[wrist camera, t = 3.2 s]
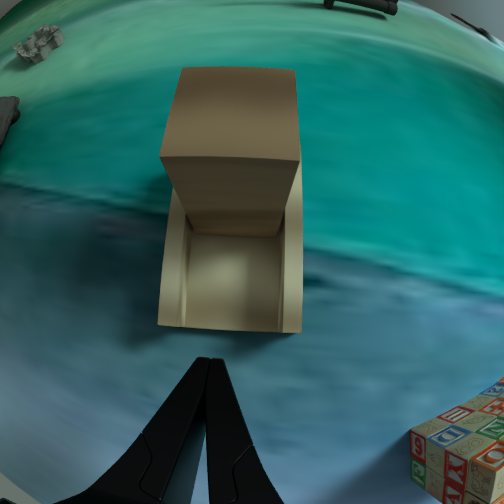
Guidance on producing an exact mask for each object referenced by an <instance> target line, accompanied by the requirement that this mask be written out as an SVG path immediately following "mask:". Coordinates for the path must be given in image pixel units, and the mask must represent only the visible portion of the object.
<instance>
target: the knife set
mask: <svg viewBox="0 0 504 504" xmlns="http://www.w3.org/2000/svg"><path fill="white" fill-rule="evenodd" d="M334 1H340V2H345V3H350V4H354V5H359V6H363V7H367V8H371V9H375V10H378V11H382V12H384V13H386V14H389V15H395V14H396V13H397V9H398V8H397V5H396V4H397V2H398V0H324V3H323V4H324V6H325V7H326V8H328V9H331V8H332V6H333V4H334Z"/></svg>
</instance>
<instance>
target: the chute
mask: <svg viewBox="0 0 504 504" xmlns="http://www.w3.org/2000/svg"><path fill="white" fill-rule="evenodd" d="M299 147H300V163H299V166H298V169H297V172H296V175H295V178H294V182H293V185H292V188H291V191H290V194H289V197H288V201H287V204H286V207H285V210H284V213H283V216H282V219H281V222H280V225H279V229H278V232H277V235H276V238H266V237H244V236H222V235H198V234H196V233H195V231H194V229H193V227H192V224H191V222H190V220H189V218H188V216H187V214H186V212H185V210H184V208H183V206H182V204H181V202H180V200H179V198H178V196H177V193H176V191H175V189H174V187H173V190H172V197H171V203H170V210H169V217H168V224H167V232H166V240H165V248H164V257H163V266H162V276H161V287H160V299H159V312H158V325H164V326H174V327H190V328H203V329H218V330H235V331H257V332H281V333H302V296H303V209H302V171H301V146H300V142H299Z"/></svg>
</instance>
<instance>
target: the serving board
mask: <svg viewBox="0 0 504 504" xmlns="http://www.w3.org/2000/svg"><path fill="white" fill-rule="evenodd" d="M19 101H20V99H19V98H18V97H15V96H11V97H0V146H1V145H2V142H3V140H4V138H5V135H6V133H7V131H8V128H9V126H10V124H11V123H12V124H13V123H15V122H16V121H17V120H18V119H19V117H20V111H19V110H18V109H17V107H18V105H19Z"/></svg>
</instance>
